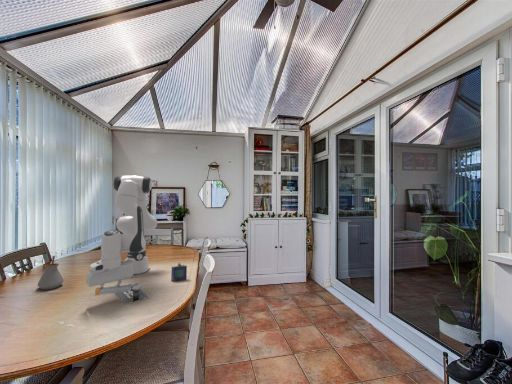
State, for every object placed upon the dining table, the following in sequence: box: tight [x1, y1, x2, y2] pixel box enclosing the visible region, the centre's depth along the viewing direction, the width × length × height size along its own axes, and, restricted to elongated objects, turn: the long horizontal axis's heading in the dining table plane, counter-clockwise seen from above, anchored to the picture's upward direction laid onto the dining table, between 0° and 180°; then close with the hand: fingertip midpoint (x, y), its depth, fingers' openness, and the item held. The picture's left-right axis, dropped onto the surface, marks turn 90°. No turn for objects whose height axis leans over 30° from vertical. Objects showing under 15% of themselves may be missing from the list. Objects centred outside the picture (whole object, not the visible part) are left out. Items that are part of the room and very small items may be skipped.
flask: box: [170, 262, 188, 282], centre depth 153 cm, size 9×3×11 cm, turn 109°
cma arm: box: [94, 283, 142, 297], centre depth 119 cm, size 20×4×3 cm, turn 110°
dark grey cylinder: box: [133, 291, 140, 302], centre depth 122 cm, size 3×3×4 cm
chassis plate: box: [113, 289, 150, 305], centre depth 127 cm, size 18×12×1 cm, turn 44°
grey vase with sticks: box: [37, 255, 64, 291], centre depth 143 cm, size 21×12×15 cm, turn 36°
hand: (110, 290), depth 121 cm, fingers open, 4 cm apart
